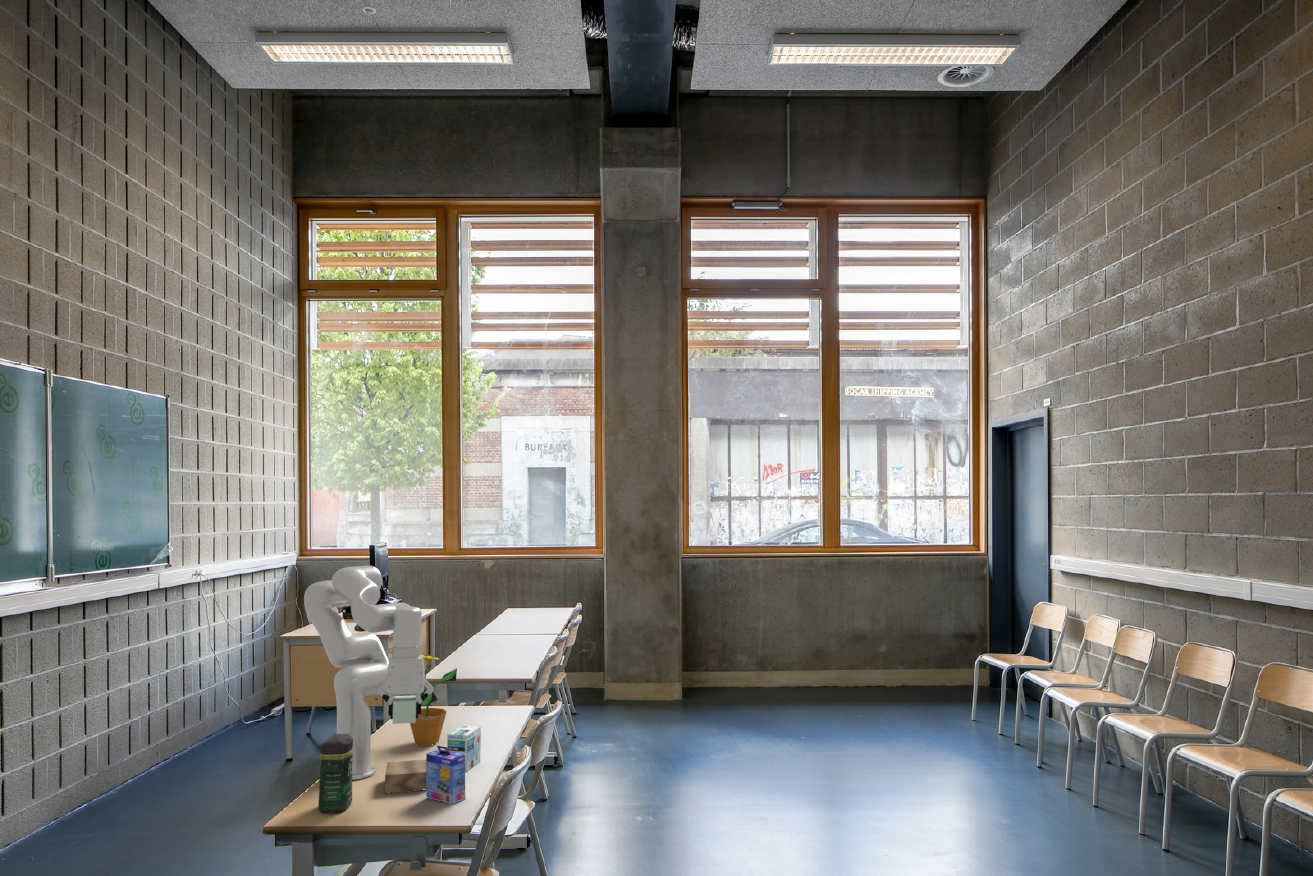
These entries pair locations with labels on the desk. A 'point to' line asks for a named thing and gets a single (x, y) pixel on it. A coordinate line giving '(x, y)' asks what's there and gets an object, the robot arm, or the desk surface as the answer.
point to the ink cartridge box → (445, 775)
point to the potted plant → (430, 714)
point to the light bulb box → (466, 744)
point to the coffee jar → (335, 773)
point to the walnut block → (405, 776)
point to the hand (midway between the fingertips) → (404, 717)
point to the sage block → (404, 709)
